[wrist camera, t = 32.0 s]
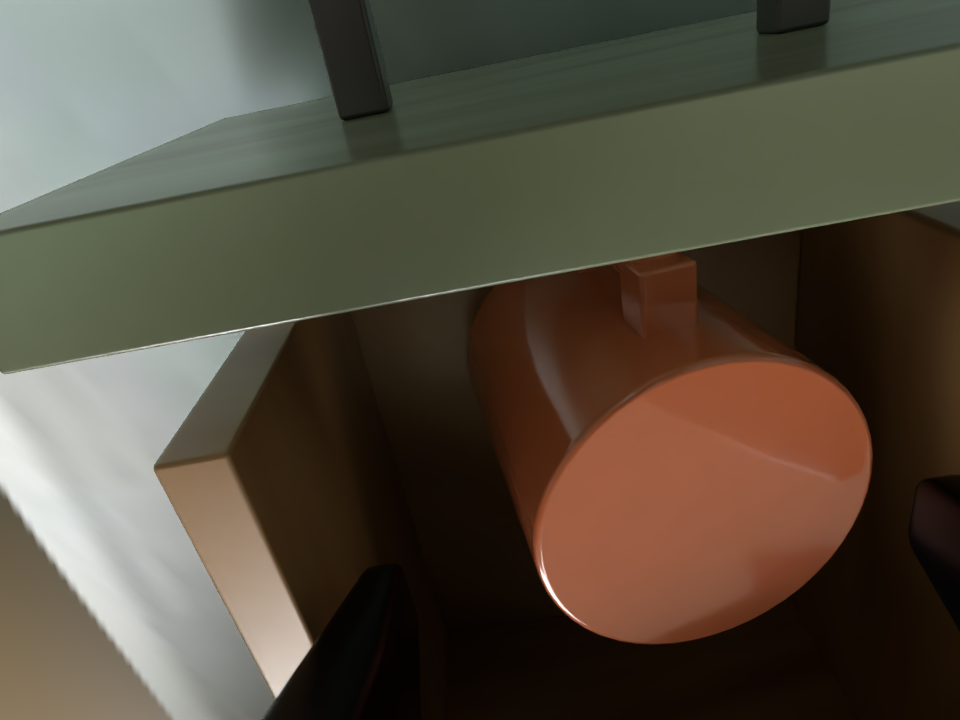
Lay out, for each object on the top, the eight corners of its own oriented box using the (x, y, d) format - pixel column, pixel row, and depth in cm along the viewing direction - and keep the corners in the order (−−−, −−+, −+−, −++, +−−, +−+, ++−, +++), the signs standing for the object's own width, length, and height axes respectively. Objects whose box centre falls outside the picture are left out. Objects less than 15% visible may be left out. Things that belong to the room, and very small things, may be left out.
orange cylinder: (487, 468, 13) (558, 683, 9) (429, 197, 10) (487, 307, 6) (691, 415, 13) (858, 596, 9) (683, 140, 11) (912, 205, 6)
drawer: (96, -238, 9) (-755, -844, 3) (911, -433, 9) (2318, -1838, 2) (400, 626, 18) (367, 971, 11) (817, 562, 17) (1035, 890, 11)
